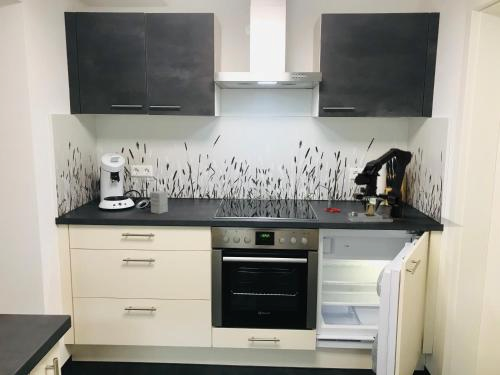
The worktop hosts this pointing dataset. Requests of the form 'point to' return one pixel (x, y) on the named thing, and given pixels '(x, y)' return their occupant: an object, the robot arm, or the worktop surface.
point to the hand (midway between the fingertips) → (370, 211)
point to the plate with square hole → (368, 217)
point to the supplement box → (159, 202)
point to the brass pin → (370, 210)
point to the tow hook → (330, 205)
